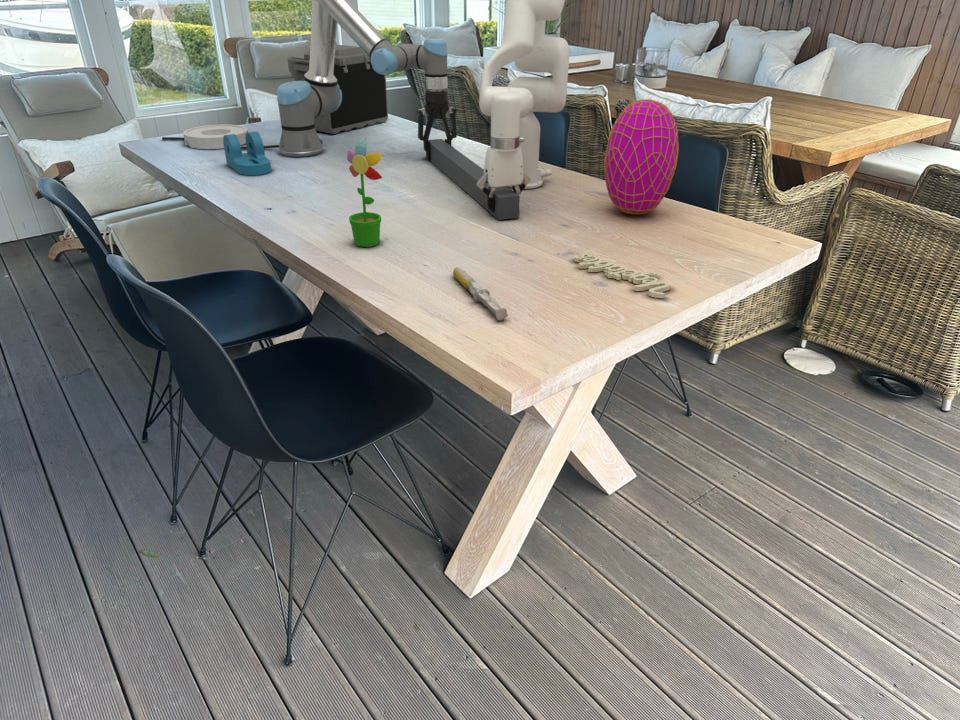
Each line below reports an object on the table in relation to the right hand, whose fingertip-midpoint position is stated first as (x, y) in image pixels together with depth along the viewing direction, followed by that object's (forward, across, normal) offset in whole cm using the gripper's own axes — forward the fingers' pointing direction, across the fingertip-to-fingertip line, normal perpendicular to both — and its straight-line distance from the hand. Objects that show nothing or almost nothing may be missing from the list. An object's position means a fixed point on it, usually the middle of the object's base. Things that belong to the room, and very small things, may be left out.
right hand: (502, 208), depth 190 cm
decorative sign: (+2, -11, +48) cm, 49 cm away
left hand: (+2, 0, -63) cm, 63 cm away
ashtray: (+2, +72, -113) cm, 134 cm away
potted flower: (+2, +40, +9) cm, 42 cm away
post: (+2, 0, -31) cm, 31 cm away
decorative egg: (+2, -36, +10) cm, 37 cm away
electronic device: (+2, +22, -129) cm, 131 cm away
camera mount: (+2, +63, -70) cm, 94 cm away
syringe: (+2, +24, +48) cm, 54 cm away
